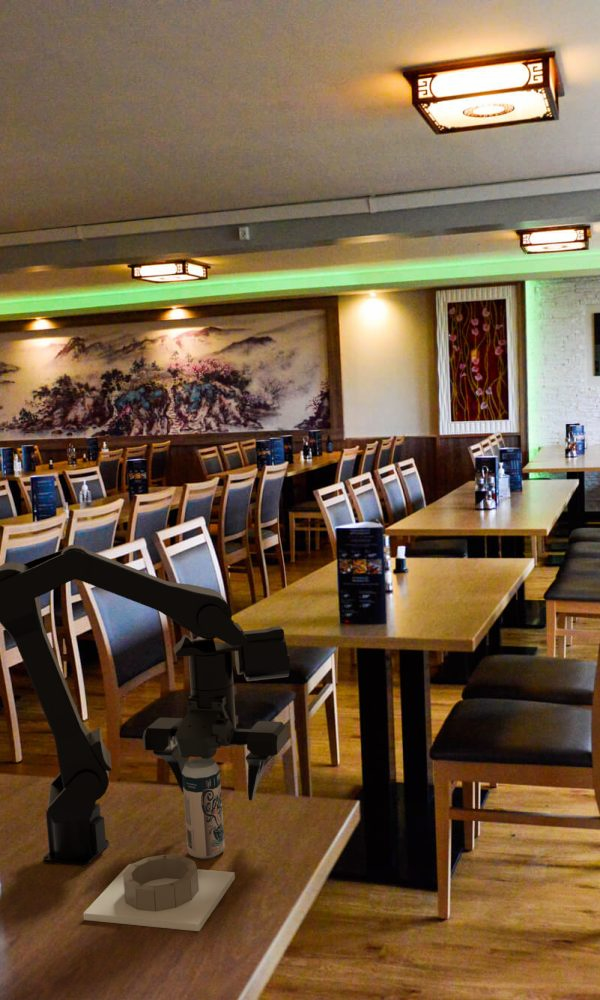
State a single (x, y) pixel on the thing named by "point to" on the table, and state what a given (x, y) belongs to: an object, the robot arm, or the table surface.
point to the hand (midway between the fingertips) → (218, 797)
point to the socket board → (167, 917)
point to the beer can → (203, 808)
